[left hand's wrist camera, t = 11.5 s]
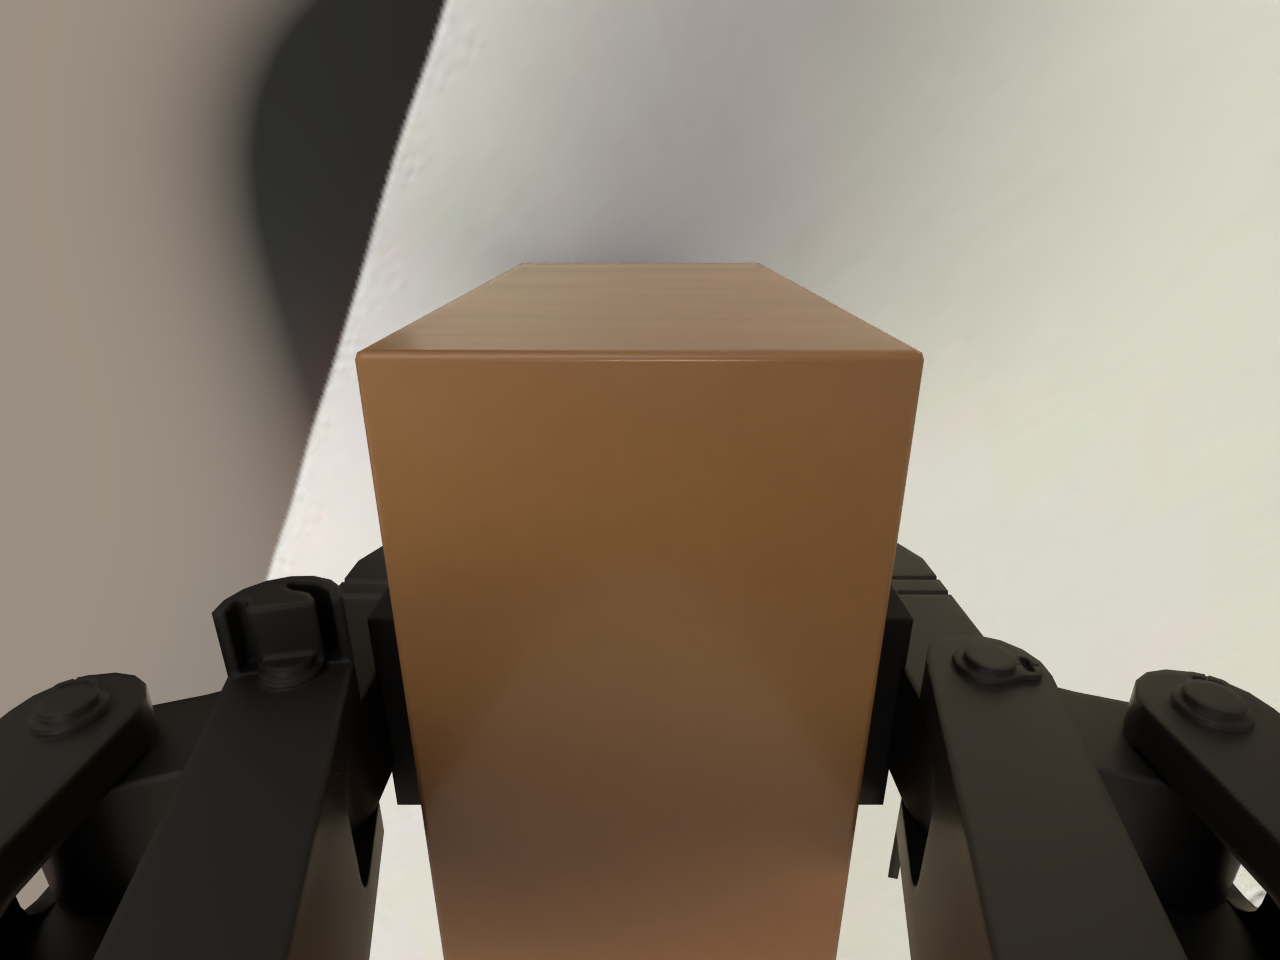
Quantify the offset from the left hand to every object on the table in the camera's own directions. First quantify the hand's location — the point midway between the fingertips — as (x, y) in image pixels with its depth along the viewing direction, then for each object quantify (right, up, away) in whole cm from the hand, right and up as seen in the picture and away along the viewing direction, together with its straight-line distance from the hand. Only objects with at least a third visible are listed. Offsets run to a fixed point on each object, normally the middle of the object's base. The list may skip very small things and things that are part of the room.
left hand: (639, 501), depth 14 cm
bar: (0, -31, +13) cm, 34 cm away
